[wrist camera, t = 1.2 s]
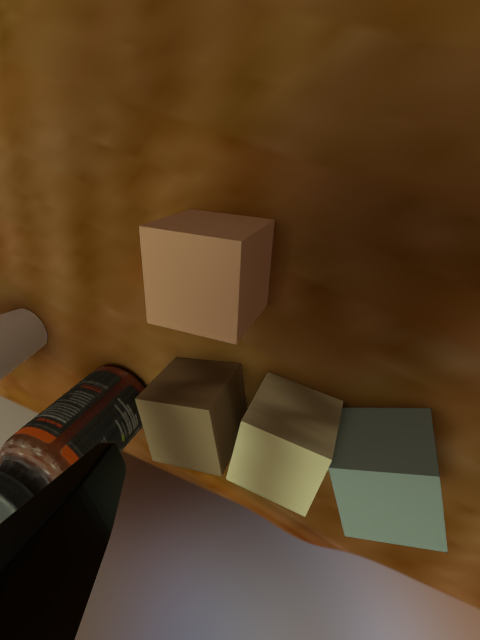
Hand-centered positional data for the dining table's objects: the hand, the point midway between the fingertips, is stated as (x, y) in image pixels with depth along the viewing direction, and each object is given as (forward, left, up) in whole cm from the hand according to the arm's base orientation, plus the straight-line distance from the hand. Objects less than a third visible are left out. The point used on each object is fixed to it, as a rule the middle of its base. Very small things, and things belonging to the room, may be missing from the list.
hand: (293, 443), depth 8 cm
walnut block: (+8, +10, -12) cm, 18 cm away
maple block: (+2, +10, -12) cm, 16 cm away
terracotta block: (+7, 0, -12) cm, 14 cm away
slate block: (-4, +10, -12) cm, 16 cm away
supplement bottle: (+16, +13, -12) cm, 24 cm away
